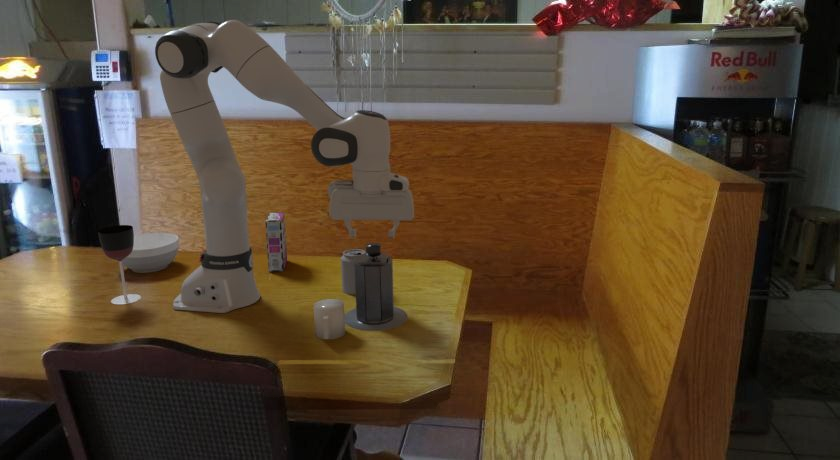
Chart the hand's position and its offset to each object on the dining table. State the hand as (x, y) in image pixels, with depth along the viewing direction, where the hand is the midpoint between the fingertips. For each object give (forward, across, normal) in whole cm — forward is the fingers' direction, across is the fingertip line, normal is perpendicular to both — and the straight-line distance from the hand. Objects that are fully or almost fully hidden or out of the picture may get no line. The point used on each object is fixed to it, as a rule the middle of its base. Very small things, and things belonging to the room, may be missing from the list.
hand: (372, 237), depth 149 cm
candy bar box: (+22, -33, +42) cm, 58 cm away
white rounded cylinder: (+22, -9, -10) cm, 26 cm away
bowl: (+23, -74, +42) cm, 88 cm away
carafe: (+21, +1, +1) cm, 21 cm away
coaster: (+22, +1, 0) cm, 22 cm away
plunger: (+15, +1, 0) cm, 15 cm away
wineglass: (+23, -69, +15) cm, 75 cm away
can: (+22, -6, +19) cm, 30 cm away
